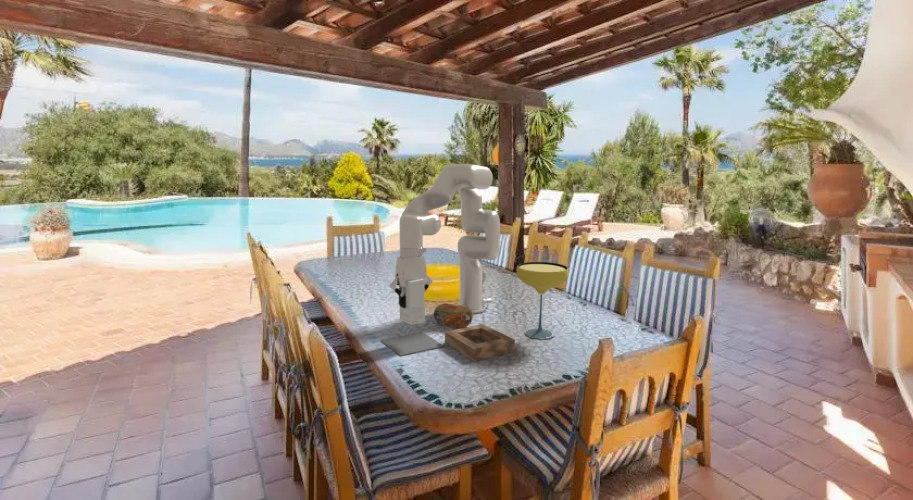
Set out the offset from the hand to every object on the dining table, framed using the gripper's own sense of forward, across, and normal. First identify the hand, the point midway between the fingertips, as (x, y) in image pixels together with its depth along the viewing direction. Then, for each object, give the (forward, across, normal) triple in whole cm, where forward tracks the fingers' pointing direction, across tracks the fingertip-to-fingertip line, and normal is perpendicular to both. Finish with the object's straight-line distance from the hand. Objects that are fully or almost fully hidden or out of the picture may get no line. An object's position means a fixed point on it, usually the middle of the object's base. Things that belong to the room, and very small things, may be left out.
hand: (411, 305), depth 159 cm
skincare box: (+6, 0, 0) cm, 6 cm away
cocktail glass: (+14, -44, +15) cm, 49 cm away
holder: (+14, -18, +14) cm, 27 cm away
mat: (+14, 0, 0) cm, 14 cm away
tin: (+14, -22, -9) cm, 28 cm away
